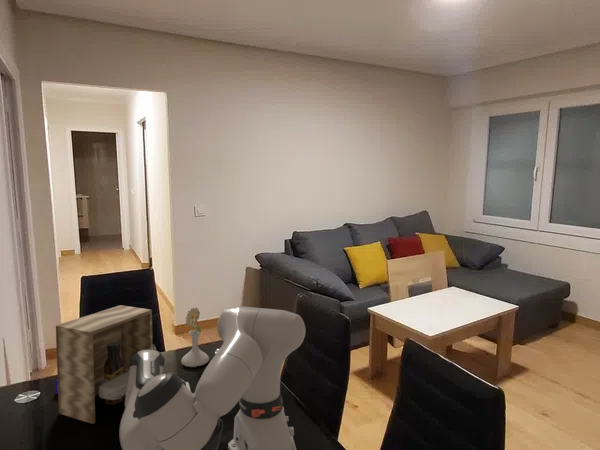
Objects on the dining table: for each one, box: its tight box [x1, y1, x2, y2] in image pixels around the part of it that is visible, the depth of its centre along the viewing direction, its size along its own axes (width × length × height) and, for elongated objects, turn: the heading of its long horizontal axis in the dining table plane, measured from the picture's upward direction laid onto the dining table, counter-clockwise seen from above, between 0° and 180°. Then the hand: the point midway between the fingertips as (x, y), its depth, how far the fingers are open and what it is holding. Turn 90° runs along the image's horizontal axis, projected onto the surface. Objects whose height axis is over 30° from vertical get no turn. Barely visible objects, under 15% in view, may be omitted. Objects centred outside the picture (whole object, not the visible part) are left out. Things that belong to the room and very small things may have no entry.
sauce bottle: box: [104, 342, 125, 406], centre depth 137 cm, size 6×6×20 cm
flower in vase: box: [180, 307, 210, 368], centre depth 167 cm, size 13×11×25 cm
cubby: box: [55, 304, 153, 425], centre depth 138 cm, size 15×26×29 cm, turn 157°
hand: (111, 376), depth 137 cm, fingers closed on sauce bottle, 6 cm apart
